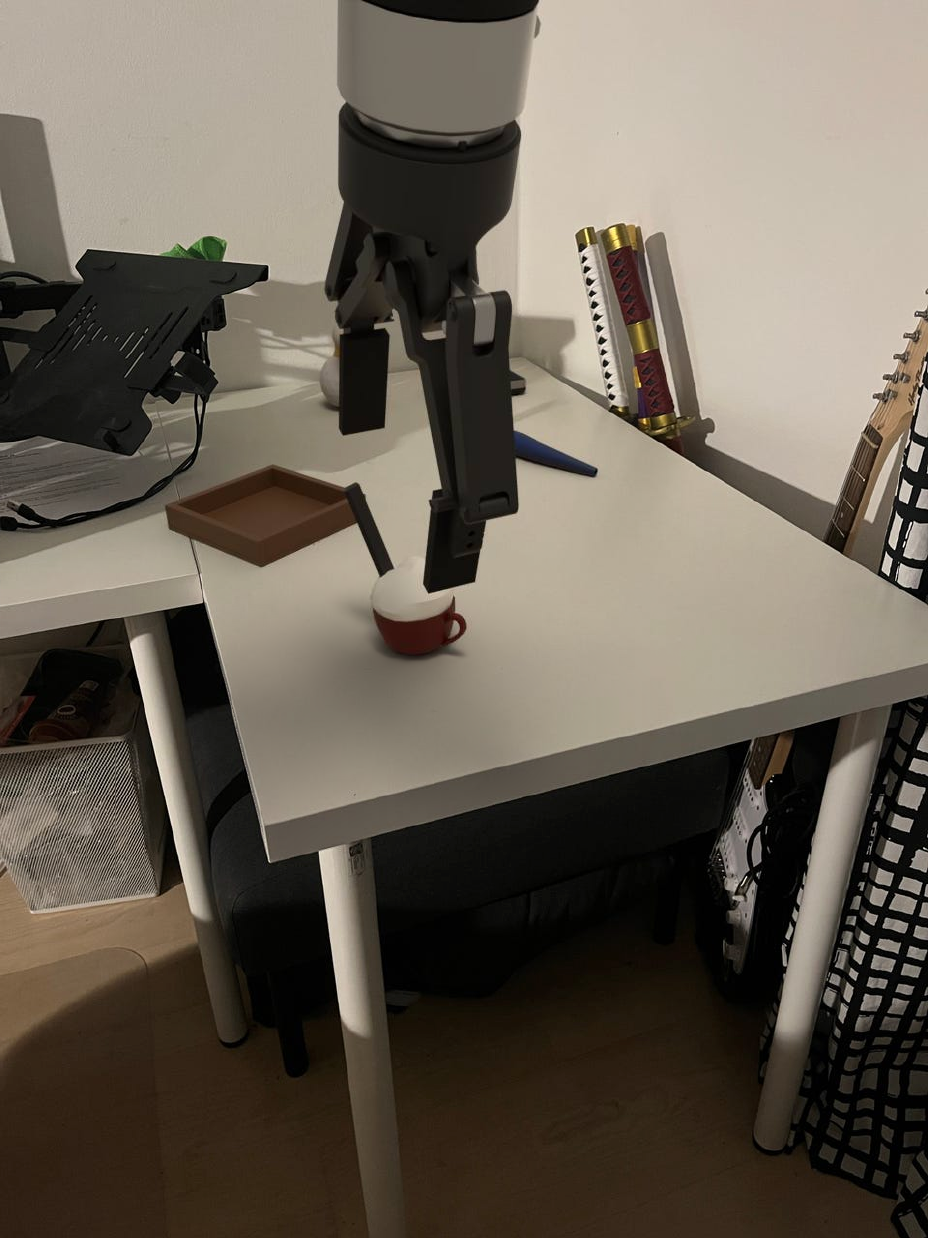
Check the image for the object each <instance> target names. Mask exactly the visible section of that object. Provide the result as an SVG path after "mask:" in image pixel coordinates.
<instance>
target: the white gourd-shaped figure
mask: <svg viewBox="0 0 928 1238" xmlns="http://www.w3.org/2000/svg"><path fill="white" fill-rule="evenodd" d="M340 334H343V329H340V328H339V327H338V325H337V323H335V324H334V325H333V327H332V330H331V338H332V341H333V344H334V351H333V354H332V355H331V356H329V358H327V359H326V360H325V361H324V363H323V364H322V366H321V370H320V372H319V385H320V390H321V392H322V394H323V395H324V397H325V399H326V400H327V401H328V402H329V403H330V404H331V405H333V406H334V407H337V408H339V342H340Z"/></svg>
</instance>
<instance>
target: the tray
mask: <svg viewBox="0 0 928 1238" xmlns="http://www.w3.org/2000/svg"><path fill="white" fill-rule="evenodd" d="M344 490H345V487H344V486H341V485H339V484H335V483H332V482H329V481H326V480H323V479H319V478H316V477H313V476H310V475H307V474H303V473H301V472H299V471H295V470H292V469H288V468H286V467H282V466H279V465H276V464H270V465H267V466H265V467H263V468H260V469H257V470H254V471H252V472H249V473H247V474H244V475H241V476H239V477H235V478H233V479H230V480H228V481H225V482H223V483H220V484H217V485H215V486H211V487H210V488H209V487H208V488H207V489H204V490H201V491H199V492H196V493H193V494H191V495H188V496H186V497H183V498H180V499H178V500H174V501H173V502H169V503H166V504H165V505H164V509H165V514H166V520H167V526H168V529H169V530H171V531H174V532H176V533H178V534H181V535H183V536H185V537H188V538H191V539H192V540H195V541H197V542H200V543H202V544H205V545H207V546H210V547H212V548H215V549H217V550H219V551H222V552H223V553H226V554H229V555H231V556H234V557H236V558H239V559H241V560H243V561H246V562H248V563H250V564H252V565H255V566H258V567H260V568H262V567H264V566H267V565H269V564H270V563H271V564H272V563H274V562H275V561H277V560H279V559H282V558H283V557H286V556H288V555H290V554H292V553H294V552H297V551H299V550H302V549H303V548H305V547H307V546H310V545H311V544H314V543H316V542H319V541H320V540H322V539H325V538H327V537H329V536H331V535H333V534H335V533H337V532H340V531H342V530H344V529H346V528H348V527H351V526H352V525H355V524H357V522H356V519H355V517H354V514H353V512H352V510H351V507H350V505H349V503H348V500H347V498H346V495H345V493H344ZM363 494H364V497H365V499H366V500H367V495H366V493H363Z"/></svg>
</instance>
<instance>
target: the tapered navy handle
mask: <svg viewBox="0 0 928 1238" xmlns="http://www.w3.org/2000/svg"><path fill="white" fill-rule="evenodd" d="M514 440H515V455H516V457H517V456H518V457H520V458H523V459H526V460H529V461H532V462H535V463H538V464H542V465H545V466H550V467H552V468H556V469H561V470H565V471H569V472H573V473H577V474H582V475H586V476H590V477H596V476H597V475H598V472H599V469H598V467H596V466H593V465H591V464H589V463H586V462H585V461H582V460H580V459H578V458H576V457H574V456H571V455H569V454H567V453H565V452H563V451H560V450H558V449H556V448H555V447H552V446H549V445H547V444H545V443H543V442H541V441H539V440H537V439H535V438H533V437H531V436H530V435H528V434H525V433H524V432H521V431H518V430H515V429H514Z"/></svg>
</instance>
